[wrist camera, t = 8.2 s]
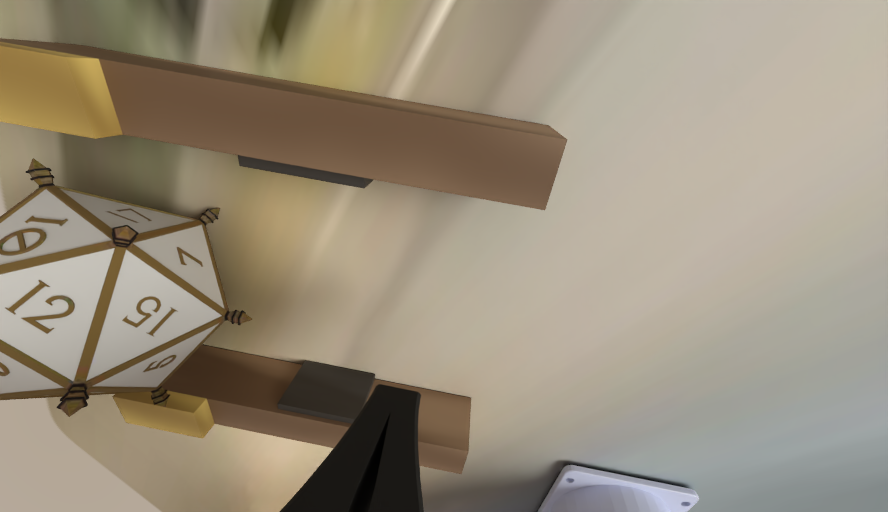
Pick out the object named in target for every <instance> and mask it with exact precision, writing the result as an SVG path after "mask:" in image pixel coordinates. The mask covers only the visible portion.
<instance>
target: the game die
mask: <svg viewBox="0 0 888 512" xmlns="http://www.w3.org/2000/svg"><path fill="white" fill-rule="evenodd" d="M50 171H51V169H50V168H46V167H45V166H43V165H42V164H41V163H39V162H38V161H36V160H35V159H34V158H33V159H32V162H31V164H30V167H29V170H28V171H26V173H29V174H30V175H31V177H32V178H30V179H31V180H34V181H35V182H36V183H37V184H38V185H39V188H38V189H37V190H36V191H34V192H33V193H32V194H30V195H29V196H28V197H26V198H25V199H24V200H22V201H21V202H19V203H18V204H17V205H15V206H14V207H13V208H11V209H10V210H9V211H7V212H6V213H5V214H3V215H2V216H1V217H0V400H10V399H28V398H46V397H62V398H61V399H60V401H62V402H61V403H60V404H59V405H58V406H57V408H58V409H62V410H63V411H64V412H65V413H66V414H67V415H68V416H69V417H70V416H71V415H73V414H74V413H75V412H77V411H78V410H79V409H81V408H83V407H86V406H87V405H88V404H87V402H86V400H87V399H89V396H88V395H100V394H118V393H135V392H151V393H152V395H151V399H152V400H154V401H153V403H154V405H156V404H157V405H160V406H163V407H166V404H167V401H168V397H169V396H170V394H167V390H164V389H163V388H162V386H161V385H162V384H163V383H164V382H165V381H166V380H167V379H168V378H169V377H170V376H171V375H172V374H173V373H174V372H175V371H176V370H177V369H178V368H179V367H180V366H181V365H182V364H183V363H184V362H185V361H186V360H187V359H188V358H189V357H190V356H191V355H192V354H193V353H194V352H195V351H196V350H197V349H198V348H199V347H200V346H201V345H202V344H203V343H204V341H205V340H206V339H207V338H208V337H209V336H210V335H211V334H212V333H213V332H214V331H215V330H216V329H217V328H218V327H219V326H220V325H221V324H222V323H223V322H224V321H225V320H229V321H231V322H232V324H234V323H238V325H240V324H241V323H244V322H247V321H249V320H252V319H251V318H250V317H249V316H248V315H246V314H245V312H244V311H241V312H239V311H237V310H235V311H232V312H229V309H228V305H227V302H226V298H225V294H224V291H223V287H222V284H221V280H220V276H219V273H218V269H217V266H216V262H215V258H214V255H213V251H212V248H211V244H210V240H209V237H208V233H207V230H206V224H208V223H211V222H212V223H213V221H214V220H215V219H217V220H218V214H219V210H220V208H217V209H212V210H209V209H207V210H206V212H205V213H202V216H201V218H200V219H194V218H190V217H186V216H181V215H177V214H173V213H169V212H165V211H160V210H156V209H152V208H148V207H144V206H139V205H135V204H131V203H127V202H123V201H118V200H114V199H110V198H106V197H102V196H97V195H93V194H89V193H85V192H81V191H76V190H72V189H68V188H64V187H60V186H55V185H54V184H53V178H54V176H53V175H51V173H50Z"/></svg>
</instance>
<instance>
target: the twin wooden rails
mask: <svg viewBox="0 0 888 512" xmlns="http://www.w3.org/2000/svg"><path fill="white" fill-rule="evenodd" d="M0 122H6V123H12V124H17V125H23V126H28V127H34V128H39V129H45V130H50V131H56V132H61V133H67V134H73V135H78V136H84V137H89V138H95V139H96V138H102V137H109V136H115V135H122V134H123V135H129V136H134V137H140V138H146V139H151V140H157V141H162V142H168V143H173V144H179V145H185V146H190V147H196V148H201V149H207V150H212V151H218V152H224V153H229V154H235V155H238V159H239V165H240V166H243V167H249V168H254V169H260V170H265V171H271V172H277V173H282V174H288V175H293V176H299V177H304V178H310V179H315V180H321V181H326V182H332V183H338V184H343V185H349V186H354V187H360V188H365V187H366V186H367V185H368V184H369V183H371V182H372V181H373V180H380V181H385V182H391V183H396V184H402V185H408V186H413V187H419V188H424V189H430V190H435V191H441V192H447V193H452V194H458V195H463V196H469V197H474V198H480V199H486V200H491V201H497V202H502V203H508V204H514V205H519V206H525V207H530V208H536V209H541V210H545V209H546V205H547V202H548V199H549V196H550V193H551V190H552V186H553V183H554V180H555V177H556V174H557V171H558V168H559V164H560V161H561V158H562V155H563V152H564V149H565V145H566V142H567V139H566V138H564V137H563V136H562V135H560V134H559V133H558V132H557V131H555V130H554V129H553V128H551V127H550V126H549V125H543V124H537V123H531V122H526V121H520V120H514V119H508V118H502V117H497V116H491V115H485V114H479V113H473V112H467V111H462V110H456V109H450V108H444V107H438V106H432V105H427V104H421V103H415V102H409V101H403V100H397V99H392V98H386V97H380V96H374V95H368V94H363V93H357V92H351V91H345V90H339V89H333V88H328V87H322V86H316V85H310V84H304V83H298V82H293V81H287V80H281V79H275V78H269V77H264V76H258V75H252V74H246V73H240V72H234V71H229V70H223V69H217V68H211V67H205V66H199V65H194V64H188V63H182V62H176V61H170V60H165V59H159V58H153V57H147V56H141V55H135V54H130V53H124V52H118V51H112V50H106V49H100V48H95V47H89V46H83V45H75V44H63V43H51V42H39V41H26V40H14V39H2V38H0ZM379 384H383V385H388V386H392V387H397V388H402V389H407V390H412V391H417V392H419V393H420V394H421V399H420V405H419V416H418V452H419V466H424V467H429V468H434V469H439V470H444V471H448V472H453V473H458V474H461V473H462V470H463V467H464V464H465V461H466V458H467V455H468V450H469V430H470V409H471V398H468V397H463V396H458V395H453V394H448V393H443V392H438V391H433V390H428V389H423V388H418V387H413V386H407V385H402V384H397V383H392V382H387V381H382V380H377V379H375V374H372V373H367V372H362V371H357V370H351V369H346V368H341V367H336V366H331V365H326V364H321V363H316V362H311V361H306V360H305V362H304V363H303V365H301V364H296V363H291V362H286V361H281V360H276V359H271V358H266V357H261V356H256V355H251V354H246V353H241V352H235V351H230V350H225V349H220V348H215V347H210V346H205V345H201V346H200V347H199V348H198V349H197V350H196V351H195V352H194V353H193V354H192V355H191V356H190V357H189V358H188V359H187V360H186V361H185V362H184V363H183V364H182V365H181V366H180V367H179V368H178V369H177V370H176V371H175V372H174V373H173V374H172V375H171V376H170V377H169V378H168V379H167V380H166V381H165V382H164V383H163V384H162V385H161V386H162V388H163V389H164V390H167V394H170V396H169V397H168V401H167V404H166V407H163V406H160V405H157V404H156V405H154V403H153V401H154V400H152V399H151V395H152V393H151V392H135V393H118V394H115V395H114V396H112V397H113V399H114V401H115V402H116V404H117V406H118V408H119V410H120V412H121V414H122V416H123V417H124V419H125V421H126V423H131V424H135V425H140V426H145V427H150V428H155V429H160V430H165V431H169V432H174V433H179V434H184V435H189V436H194V437H198V438H204V436H205V435H206V434H207V433H208V431H209V430H210V429H211V428H212V426H213V425H214V424H219V425H224V426H229V427H233V428H238V429H243V430H248V431H253V432H258V433H263V434H268V435H273V436H277V437H282V438H287V439H292V440H297V441H302V442H307V443H312V444H317V445H321V446H326V447H331V448H334V447H335V446H336V445H337V443H338V442H339V441H340V439H341V438H342V437H343V435H344V434H345V433H346V431H347V430H348V429H349V427H350V426H351V425H352V423H353V422H354V420H355V419H356V417H357V416H358V415H359V413H360V412H361V410H362V409H363V407H364V406H365V404H366V402H367V401H368V399H369V397H370V396H371V394H372V392H373V391H374V389H375V387H376V386H377V385H379Z"/></svg>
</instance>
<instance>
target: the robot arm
mask: <svg viewBox="0 0 888 512" xmlns="http://www.w3.org/2000/svg"><path fill="white" fill-rule="evenodd" d="M420 399H421V394H420V393H419V392H417V391H412V390H407V389H402V388H397V387H392V386H388V385H383V384H379V385H377V386H376V387H375V389H374V391H373V392H372V394H371V396H370V397H369V399H368V401H367V402H366V404H365V406H364V407H363V409H362V410H361V412H360V413H359V415H358V416H357V417H356V419H355V420H354V422H353V423H352V425H351V426H350V427H349V429H348V430H347V431H346V433H345V434H344V435H343V437H342V438H341V439H340V441H339V442H338V443H337V445H336V446H335V447H334V449H333V450H332V451H331V453H330V454H329V455H328V456H327V458H326V459H325V460H324V461H323V462H322V464H321V465H320V466H319V467H318V468H317V470H316V471H315V472H314V473H313V475H312V476H311V477H310V478H309V479H308V481H307V482H306V483H305V484H304V485H303V486H302V488H301V489H300V490H299V491H298V492H297V493H296V494H295V495H294V497H293V498H292V499H291V500H290V501H289V502H288V503H287V504H286V505H285V506H284V508H283V509H282V510H281V511H280V512H424V510H423V501H422V492H421V481H420V468H419V452H418V416H419V405H420ZM698 500H699V497H698V495H697V493H696V491H694V490H693V489H689V488H685V487H680V486H675V485H670V484H665V483H660V482H655V481H650V480H645V479H640V478H635V477H630V476H625V475H620V474H615V473H610V472H605V471H600V470H595V469H590V468H585V467H580V466H576V465H567V466H565V467H564V468H563V469H562V471H561V473H560V474H559V476H558V478H557V479H556V481H555V483H554V485H553V486H552V488H551V490H550V491H549V493H548V495H547V496H546V498H545V500H544V502H543V503H542V505H541V507H540V508H539V510H538V512H687V511H688V510H689V509H690V508H691V507H692V506H693V505H694V504H695V503H697V502H698Z"/></svg>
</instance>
